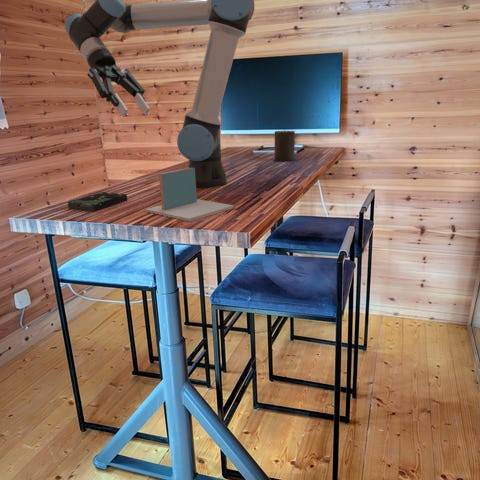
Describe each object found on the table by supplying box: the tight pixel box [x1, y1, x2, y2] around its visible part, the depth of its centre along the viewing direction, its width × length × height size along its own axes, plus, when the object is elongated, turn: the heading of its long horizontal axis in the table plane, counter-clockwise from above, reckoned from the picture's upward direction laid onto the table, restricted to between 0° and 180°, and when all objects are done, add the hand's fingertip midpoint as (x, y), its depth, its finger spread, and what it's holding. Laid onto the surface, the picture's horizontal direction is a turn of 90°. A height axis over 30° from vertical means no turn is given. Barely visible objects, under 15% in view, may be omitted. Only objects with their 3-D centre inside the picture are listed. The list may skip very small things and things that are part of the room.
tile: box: [158, 167, 198, 210], centre depth 126 cm, size 12×2×10 cm, turn 139°
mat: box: [145, 198, 234, 222], centre depth 125 cm, size 17×18×1 cm
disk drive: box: [67, 191, 128, 213], centre depth 135 cm, size 10×3×15 cm
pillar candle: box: [274, 128, 296, 162], centre depth 213 cm, size 10×10×15 cm
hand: (136, 112), depth 130 cm, fingers open, 7 cm apart
